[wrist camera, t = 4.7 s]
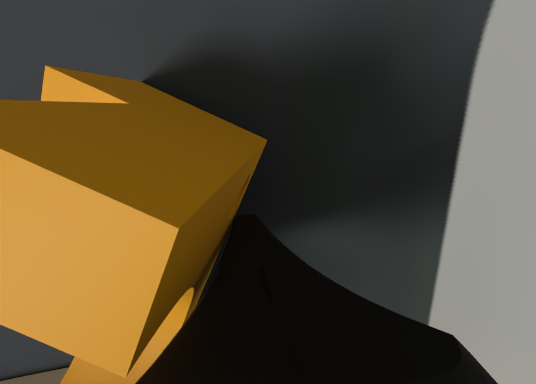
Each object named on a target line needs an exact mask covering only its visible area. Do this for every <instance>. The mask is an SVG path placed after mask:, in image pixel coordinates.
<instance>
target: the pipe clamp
mask: <svg viewBox="0 0 536 384" xmlns="http://www.w3.org/2000/svg"><path fill="white" fill-rule="evenodd" d="M266 142H267V139H264V138H262V137H260V136H258V135H256V134H253V133H251V132H249V131H247V130H245V129H243V128H240V127H238V126H236V125H234V124H232V123H229V122H227V121H225V120H223V119H221V118H219V117H216V116H214V115H212V114H210V113H208V112H206V111H203V110H201V109H199V108H197V107H195V106H192V105H190V104H188V103H186V102H184V101H182V100H179V99H177V98H175V97H173V96H171V95H168V94H166V93H164V92H162V91H160V90H158V89H155V88H153V87H151V86H149V85H147V84H145V83H142V82H140V81H134V80H128V79H123V78H117V77H111V76H105V75H99V74H93V73H87V72H81V71H75V70H69V69H63V68H58V67H52V66H46V65H45V73H44V81H43V88H42V96H41V101H26V100H0V324H1V325H3V326H5V327H8V328H10V329H12V330H15V331H17V332H19V333H22V334H24V335H26V336H29V337H31V338H33V339H36V340H38V341H40V342H43V343H45V344H47V345H50V346H52V347H54V348H57V349H59V350H61V351H64V352H66V353H68V354H71V355H73V356H75V358H74V359H73V361H72V363H71V365H70V367H69V369H68V370H67V372H66V374H65V376H64V377H63V379H62V381H61V383H60V384H135V383H136V382H137V381H138V380H139V379H140V377H141V376H142V375H143V374H144V373H145V372H146V371H147V370H148V369H149V367H150V366H151V365H152V364H153V363H154V362H155V360H156V359H157V358H158V357H159V355H160V354H161V353H162V352H163V350H164V349H165V348H166V346H167V345H168V344H169V343H170V341H171V340H172V339H173V337H174V336H175V335H176V334H177V332H178V331H179V330H180V329H181V327H182V326H183V324H184V323H185V322H186V320H187V319H188V317H189V316H190V315H191V313H192V311H193V310H194V308H195V307H196V305H197V302H198V300H199V298H200V295H201V293H202V291H203V288H204V286H205V284H206V282H207V279H208V277H209V275H210V272H211V270H212V268H213V265H214V263H215V261H216V258H217V256H218V254H219V251H220V249H221V247H222V244H223V242H224V240H225V237H226V235H227V233H228V231H229V228H230V226H231V224H232V220H233V219H234V217H235V214H236V212H237V210H238V207H239V205H240V203H241V200H242V198H243V196H244V193H245V191H246V189H247V187H248V184H249V182H250V180H251V177H252V175H253V173H254V170H255V168H256V166H257V163H258V161H259V159H260V156H261V154H262V152H263V149H264V147H265V145H266Z"/></svg>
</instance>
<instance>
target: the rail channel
mask: <svg viewBox="0 0 536 384" xmlns="http://www.w3.org/2000/svg"><path fill="white" fill-rule="evenodd" d="M68 369H69V367H67V368H62V369H58V370H53V371H48V372H43V373H38V374H33V375H28V376H23V377H18V378H13V379H8V380H3V381H0V384H60V383H61V381H62V379H63V377H64V376H65V374H66V372H67V370H68Z"/></svg>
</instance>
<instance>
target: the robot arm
mask: <svg viewBox="0 0 536 384" xmlns="http://www.w3.org/2000/svg"><path fill="white" fill-rule="evenodd" d="M135 384H497V382H496V381H495V380H494V379H493V378H492V377H491V376H490V375H489V373H488V372H487V371H486V370H485V369H484V368H483V367H482V366H481V364H480V363H479V362H478V361H477V360H476V359H475V358H474V357H473V356H472V355H471V353H470V352H469V351H468V350H467V349H466V348H465V347H464V346H463V345H462V344H461V343H460V342H459V341H458V340H457V339H456V338H455V337H454V336H453V335H451V334H449V333H446V332H443V331H441V330H438V329H436V328H433V327H430V326H428V325H425V324H423V323H420V322H417V321H415V320H412V319H410V318H407V317H405V316H402V315H400V314H397V313H395V312H393V311H391V310H388V309H386V308H384V307H382V306H380V305H378V304H375V303H373V302H371V301H369V300H367V299H365V298H363V297H361V296H359V295H357V294H355V293H353V292H351V291H350V290H348V289H346V288H344V287H342V286H341V285H339V284H337V283H335V282H334V281H332V280H330V279H329V278H327V277H325V276H324V275H322V274H321V273H319V272H318V271H316V270H315V269H313V268H312V267H310V266H309V265H308V264H306V263H305V262H304V261H302V260H301V259H300V258H299V257H297V256H296V255H295V254H294V253H293V252H291V251H290V250H289V249H288V248H287V247H286V246H284V245H283V244H282V243H281V242H280V241H279V240H278V239H277V238H276V237H275V236H274V235H273V234H272V233H271V232H270V231H269V230H268V229H267V228H266V227H265V226H264V225H263V223H262V222H261V221H260V220H259V219H258V218H257V216H255V215H254V214H252V215H244V216H236V217H234V219H233V220H232V230H231V234H230V238H229V241H228V244H227V246H226V249H225V252H224V255H223V257H222V259H221V261H220V264H219V266H218V268H217V270H216V272H215V274H214V276H213V278H212V280H211V282H210V284H209V286H208V287H207V289H206V291H205V293H204V294H203V296H202V298H201V299H200V301H199V302H198V304H197V305H196V307H195V308H194V310H193V311H192V313H191V315H190V316H189V317H188V319H187V320H186V322H185V323H184V324H183V326H182V327H181V329H180V330H179V331H178V332H177V334H176V335H175V336H174V337H173V339H172V340H171V341H170V343H169V344H168V345H167V346H166V348H165V349H164V350H163V352H162V353H161V354H160V355H159V357H158V358H157V359H156V360H155V362H154V363H153V364H152V365H151V366H150V367H149V369H148V370H147V371H146V372H145V373H144V374H143V375H142V376H141V377H140V379H139V380H138V381H137V382H136V383H135Z"/></svg>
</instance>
